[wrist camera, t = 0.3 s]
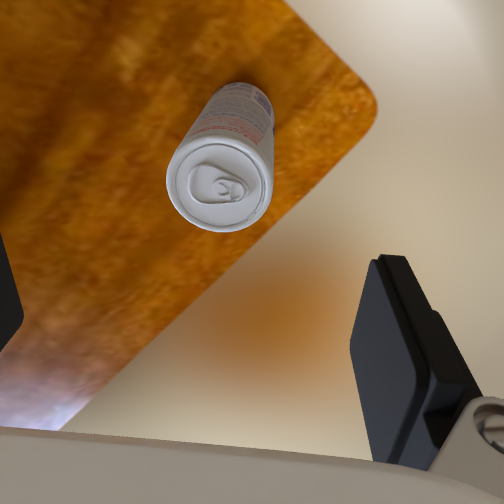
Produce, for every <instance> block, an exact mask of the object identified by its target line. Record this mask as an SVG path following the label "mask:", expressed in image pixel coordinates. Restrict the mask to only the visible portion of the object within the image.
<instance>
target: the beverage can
mask: <svg viewBox="0 0 504 504" xmlns="http://www.w3.org/2000/svg"><path fill="white" fill-rule="evenodd" d="M273 170H274V111H273V107H272V104H271V102H270V100H269V99H268V97H267V96H266V95H265V94H264V93H263V92H262V91H261V90H260V89H259V88H257V87H255V86H253V85H251V84H248V83H242V82H236V83H230V84H227V85H225V86H223V87H221V88H220V89H218V90H217V91H216V92H215V93H214V94H213V95H212V97H211V98H210V100H209V102H208V103H207V105H206V106H205V108H204V109H203V111H202V112H201V114H200V115H199V117H198V118H197V120H196V121H195V123H194V124H193V125H192V127H191V128H190V130H189V131H188V133H187V134H186V136H185V137H184V139H183V140H182V142H181V143H180V145H179V146H178V148H177V149H176V151H175V153H174V155H173V158H172V159H171V161H170V164H169V166H168V170H167V177H166V185H167V190H168V194H169V197H170V199H171V201H172V203H173V205H174V206H175V208H176V209H177V211H178V212H179V213H180V214H181V215H182V216H183V217H184V218H185V219H187V220H188V221H189V222H191V223H193V224H195V225H196V226H198V227H201V228H203V229H206V230H210V231H216V232H231V231H237V230H241V229H243V228H246V227H248V226H250V225H251V224H253V223H254V222H256V221H257V220H258V219H259V218H260V217H261V216H262V215H263V214H264V212H265V211H266V210H267V208H268V206H269V204H270V201H271V197H272V192H273Z"/></svg>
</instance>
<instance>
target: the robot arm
mask: <svg viewBox="0 0 504 504" xmlns="http://www.w3.org/2000/svg"><path fill="white" fill-rule="evenodd" d="M23 318H24V312H23V308H22V305H21V302H20V298H19V295H18V291H17V288H16V284H15V281H14V278H13V274H12V271H11V267H10V264H9V260H8V257H7V254H6V250H5V247H4V243H3V240H2V236H1V234H0V352H1V350H2V349H3V348H4V347H5V345H6V344H7V343H8V341H9V340H10V339H11V338H12V336H13V335H14V334H15V333H16V331H17V330H18V329H19V327H20V326H21V324H22V322H23ZM350 354H351V359H352V364H353V369H354V373H355V378H356V383H357V388H358V392H359V397H360V402H361V406H362V411H363V415H364V420H365V425H366V430H367V435H368V439H369V444H370V449H371V453H372V458H373V461H368V460H362V459H353V458H344V457H335V456H325V455H316V454H306V453H297V452H287V451H279V450H268V449H256V448H245V447H233V446H223V445H212V444H201V443H190V442H178V441H167V440H156V439H145V438H132V437H120V436H109V435H98V434H86V433H74V432H61V431H50V430H38V429H26V428H14V427H2V426H0V504H504V399H500V398H496V397H483V395H482V393H481V391H480V389H479V387H478V385H477V383H476V381H475V380H474V378H473V376H472V374H471V372H470V370H469V368H468V366H467V364H466V362H465V361H464V359H463V357H462V355H461V353H460V351H459V349H458V347H457V346H456V344H455V342H454V340H453V338H452V336H451V334H450V332H449V330H448V328H447V326H446V325H445V323H444V321H443V319H442V317H441V315H440V314H439V313H438V312H437V311H435V310H432V308H431V306H430V304H429V303H428V300H427V298H426V296H425V295H424V292H423V291H422V289H421V287H420V285H419V283H418V281H417V279H416V277H415V275H414V273H413V271H412V269H411V267H410V265H409V263H408V261H407V259H406V258H405V257H404V256H398V255H397V256H396V255H384V254H381V255H380V256H379V257H378V260H375V259H372V260H371V262H370V264H369V268H368V272H367V276H366V280H365V284H364V288H363V292H362V296H361V299H360V304H359V308H358V311H357V315H356V320H355V323H354V327H353V331H352V335H351V339H350Z"/></svg>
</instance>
